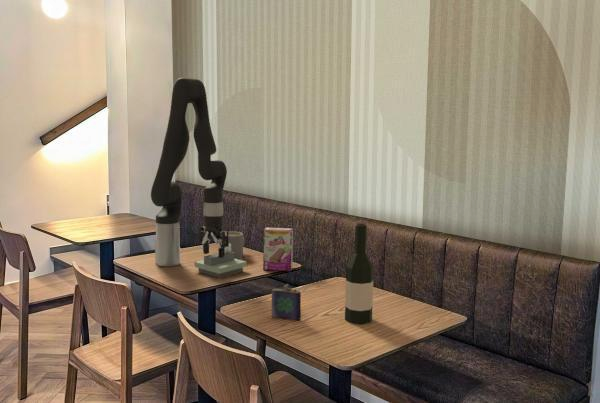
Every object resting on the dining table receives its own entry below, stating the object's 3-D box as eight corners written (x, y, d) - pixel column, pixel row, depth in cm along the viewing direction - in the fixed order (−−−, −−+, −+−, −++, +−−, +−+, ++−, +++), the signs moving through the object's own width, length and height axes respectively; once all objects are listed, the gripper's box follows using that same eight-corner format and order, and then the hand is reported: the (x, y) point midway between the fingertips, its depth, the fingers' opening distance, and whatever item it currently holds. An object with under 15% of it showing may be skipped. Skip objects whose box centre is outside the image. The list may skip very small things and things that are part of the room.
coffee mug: (229, 261, 252) (229, 237, 250) (214, 256, 259) (214, 233, 257) (253, 255, 262) (253, 232, 260) (238, 251, 268) (238, 229, 267)
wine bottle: (361, 326, 180) (364, 226, 175) (339, 319, 185) (341, 222, 180) (377, 319, 186) (380, 222, 181) (355, 313, 191) (358, 219, 186)
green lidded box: (194, 272, 235) (194, 261, 234) (221, 265, 245) (221, 255, 245) (219, 279, 226) (219, 268, 225) (246, 271, 237) (246, 261, 236)
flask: (270, 318, 186) (270, 284, 184) (273, 315, 189) (274, 281, 187) (299, 321, 183) (299, 287, 181) (302, 318, 186) (302, 284, 184)
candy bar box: (262, 270, 238) (263, 229, 235) (264, 267, 243) (265, 227, 240) (291, 271, 237) (291, 230, 234) (292, 268, 242) (293, 228, 239)
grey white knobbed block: (203, 264, 231) (203, 248, 230) (227, 258, 240) (227, 242, 239) (211, 265, 229) (210, 249, 228) (234, 260, 238) (234, 244, 237)
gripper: (193, 212, 231) (193, 254, 234) (218, 217, 222) (219, 260, 225) (208, 210, 237) (208, 250, 239) (233, 214, 228) (233, 257, 230)
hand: (213, 255), depth 232 cm, fingers open, 8 cm apart
